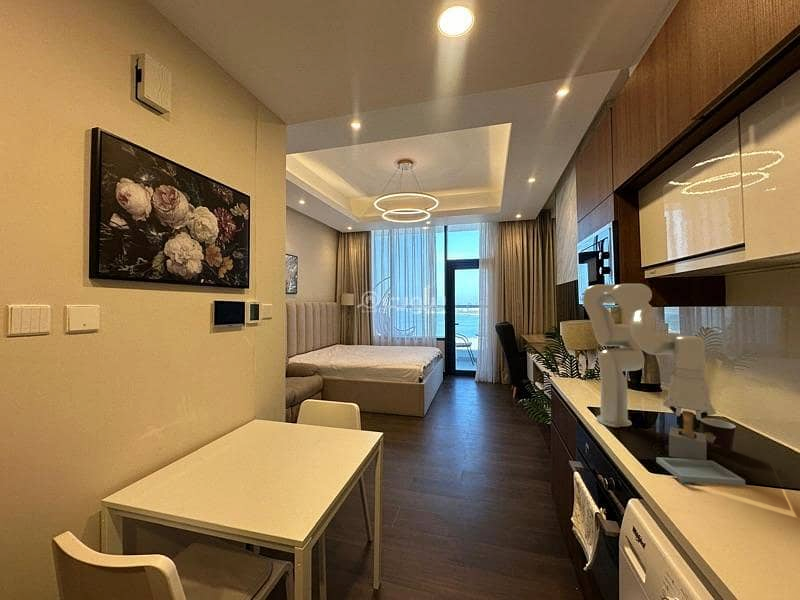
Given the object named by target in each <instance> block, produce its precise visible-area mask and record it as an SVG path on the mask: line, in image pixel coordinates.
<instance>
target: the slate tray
mask: <svg viewBox="0 0 800 600" xmlns="http://www.w3.org/2000/svg"><path fill="white" fill-rule="evenodd" d="M655 460H656V461H655V462H656V463H657V464H658V465H659V466H661V467H662V468H663V469H665V470H666V471H667V472H668V473H670V474H671V475H673V476H670V477H671V478H672V479H674V480H675V481H676V482H677V483H679V484H680V485H681V486H694V487H706V488H707V486H706V485H703V484H714V485H730V486H742V487H743V486H744V487H745V486H746V479H744V478H743V477H740V476H739V475H737V474H736V473H734V472H732V471H731V470H729V469H728V468H725V467H724V466H722V465H721V464H718V462H716V461H714V460H708V459H706V460H693V459H679V458H675V457H660V456H659V457H655ZM700 483H701V484H700Z"/></svg>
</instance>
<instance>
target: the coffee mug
mask: <svg viewBox="0 0 800 600" xmlns="http://www.w3.org/2000/svg"><path fill="white" fill-rule="evenodd" d="M700 426H701V430H702V432H699V430H697V432H698V433H703V434H706V443H707V448H706V450H710V451H711V452H714V453H720V454H730V455H731V453H732V451H733V445H734V439H735V434H736V433H735V432H736V425H735V424H733V423H731V422H727V421H725V420H720V419H714V418H702V419H701V420H700Z"/></svg>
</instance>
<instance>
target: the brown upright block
mask: <svg viewBox="0 0 800 600" xmlns="http://www.w3.org/2000/svg"><path fill="white" fill-rule="evenodd" d="M681 411H682V410H681ZM681 413H682V428H681V429H682V436H687V437H692V438H694V432H695V431H694V418H695V413H694V412H692V411H690V410H689V411H688V410H683V411H682V412H681Z"/></svg>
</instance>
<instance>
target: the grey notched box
mask: <svg viewBox="0 0 800 600" xmlns="http://www.w3.org/2000/svg"><path fill="white" fill-rule="evenodd" d="M698 432H699V431H698ZM698 432H695V431H694V438H692V437H687V436H682V428H681V429H680V428H678V427H674V426H670V428H669V432H668V457H670V458H677V459H693V460H707V443H706V434H703V432H700V433H698Z"/></svg>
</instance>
